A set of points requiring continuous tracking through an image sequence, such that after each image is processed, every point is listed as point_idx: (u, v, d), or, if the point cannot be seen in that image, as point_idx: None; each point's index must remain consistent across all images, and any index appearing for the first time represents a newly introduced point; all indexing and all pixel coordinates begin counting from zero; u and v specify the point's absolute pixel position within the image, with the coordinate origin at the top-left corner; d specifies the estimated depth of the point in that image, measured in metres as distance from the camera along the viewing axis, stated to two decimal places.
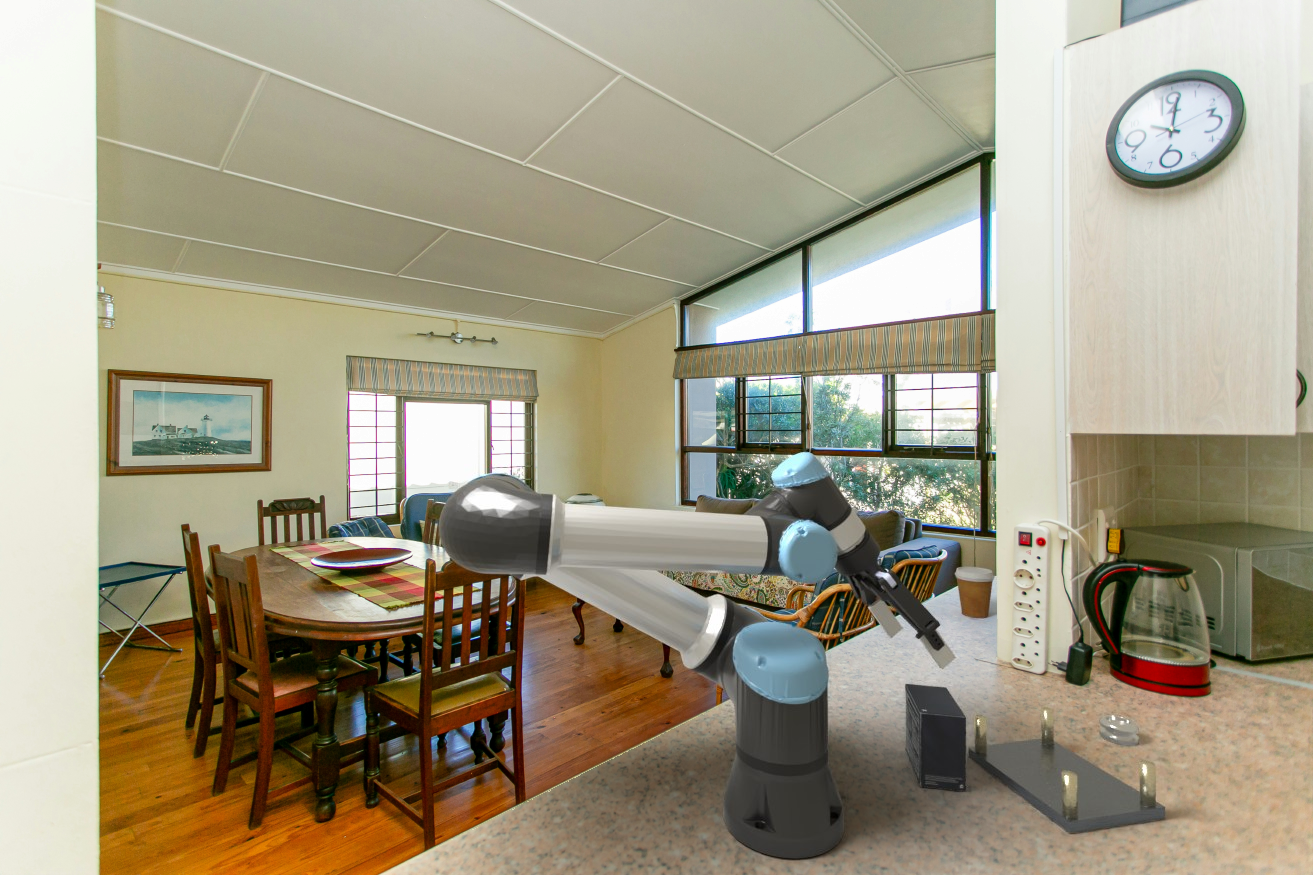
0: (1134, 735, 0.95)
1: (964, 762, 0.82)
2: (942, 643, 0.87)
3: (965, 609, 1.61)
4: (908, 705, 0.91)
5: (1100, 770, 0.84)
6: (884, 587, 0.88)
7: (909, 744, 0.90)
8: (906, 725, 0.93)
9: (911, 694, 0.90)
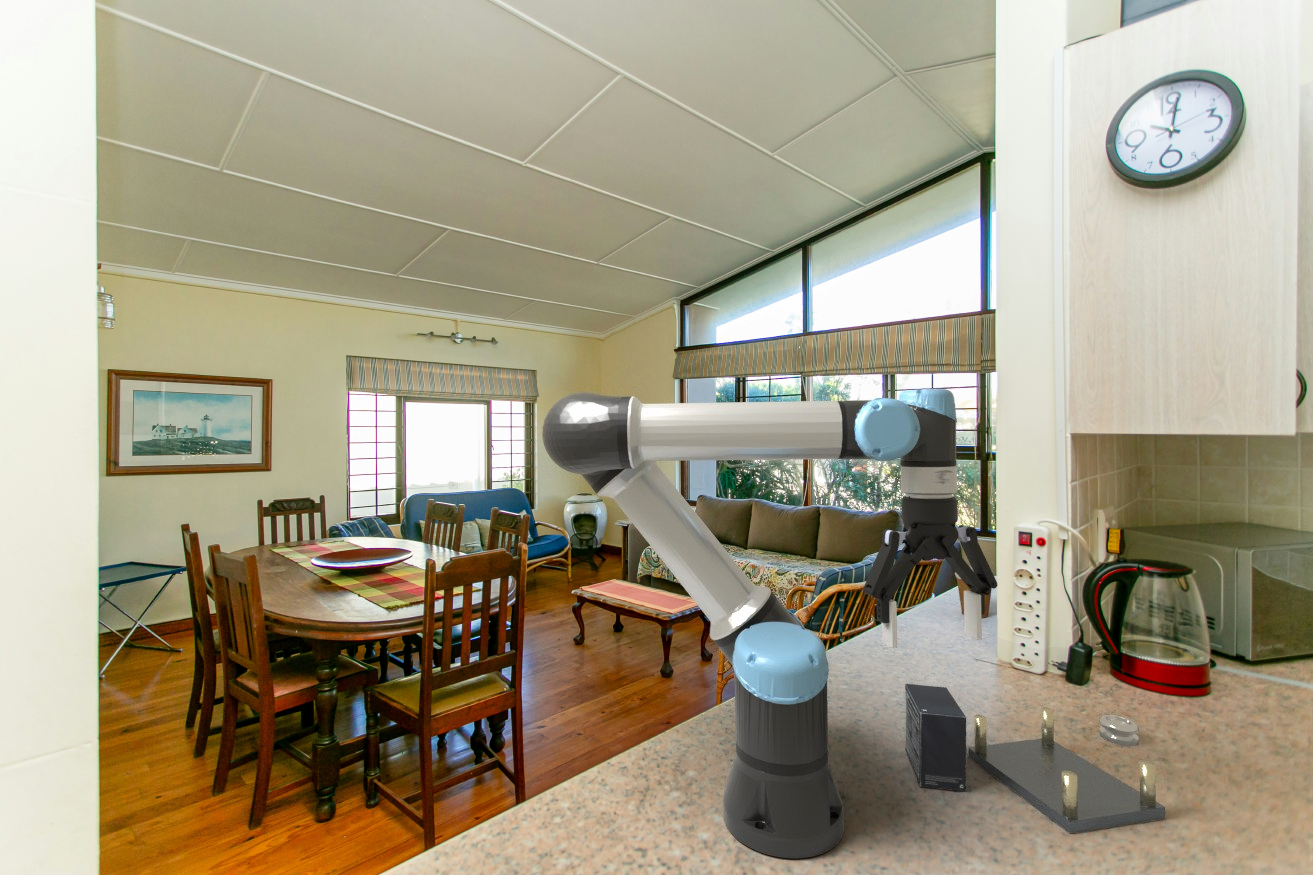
0: (1134, 735, 0.95)
1: (964, 762, 0.82)
2: (881, 619, 0.86)
3: None
4: (908, 705, 0.91)
5: (1100, 770, 0.84)
6: None
7: (909, 744, 0.90)
8: (906, 725, 0.93)
9: (911, 694, 0.90)
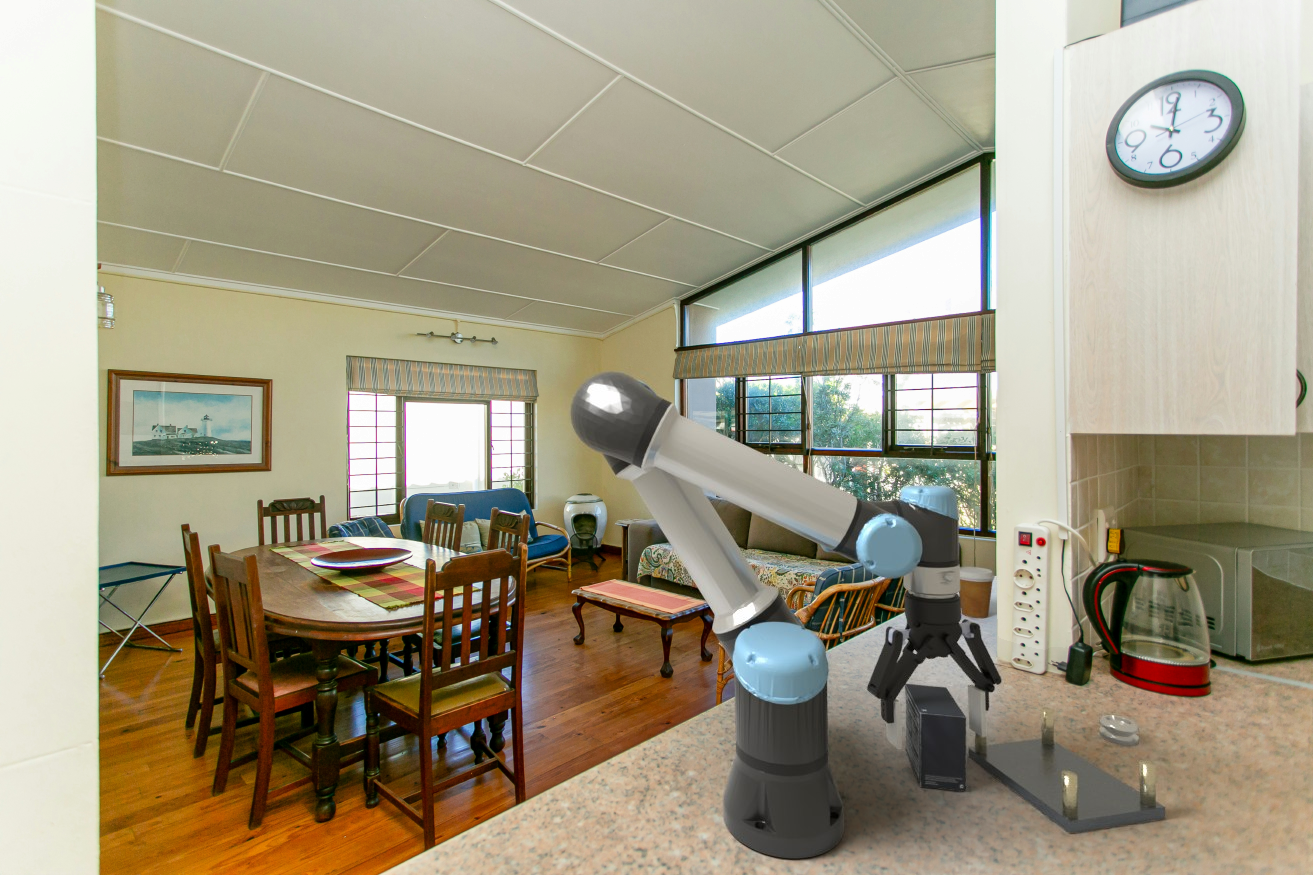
0: (1134, 735, 0.95)
1: (964, 762, 0.82)
2: (885, 718, 0.86)
3: (965, 609, 1.61)
4: (908, 705, 0.91)
5: (1100, 770, 0.84)
6: None
7: (909, 744, 0.90)
8: (906, 725, 0.93)
9: (911, 694, 0.90)
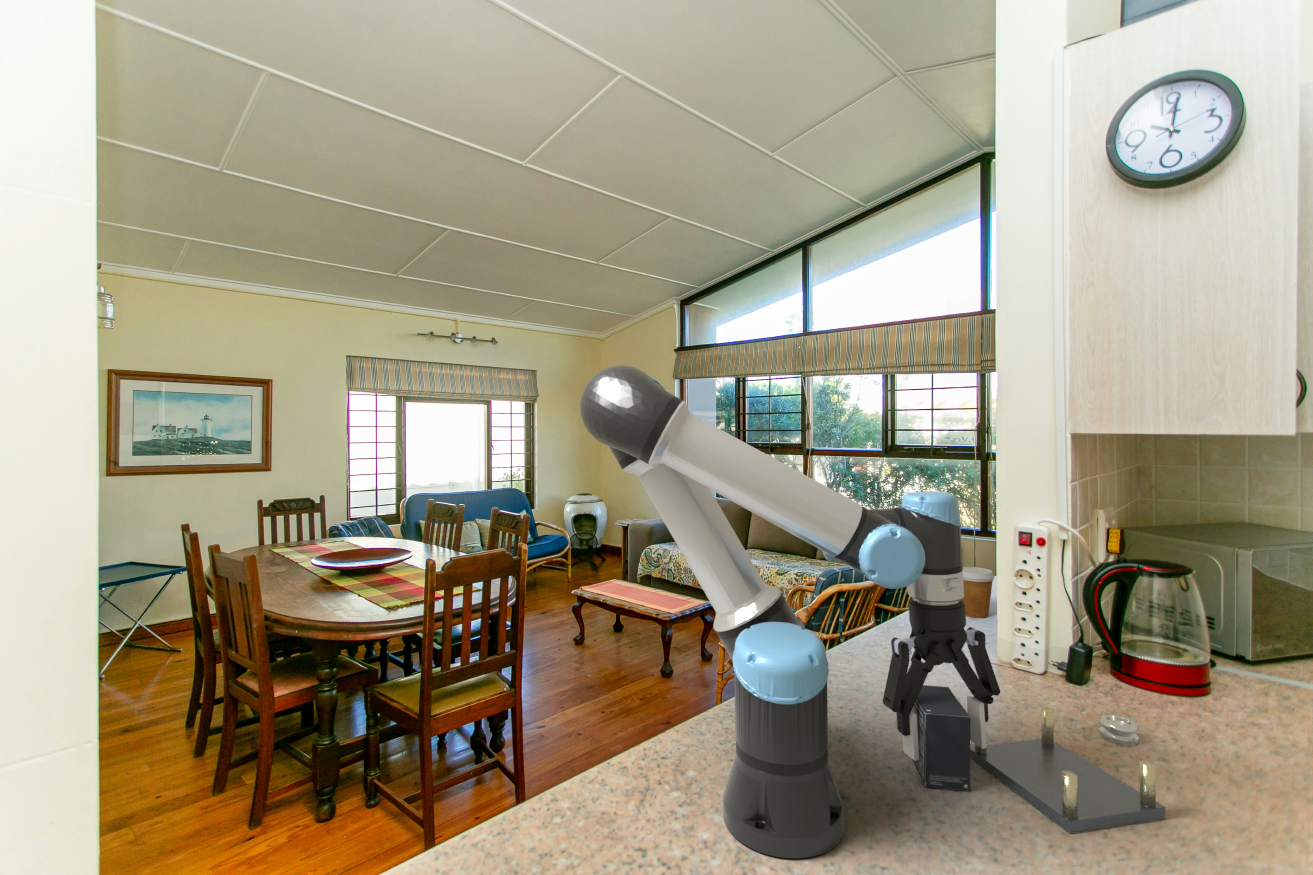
0: (1134, 735, 0.95)
1: (968, 762, 0.83)
2: (902, 731, 0.86)
3: (965, 609, 1.61)
4: None
5: (1100, 770, 0.84)
6: None
7: None
8: None
9: None
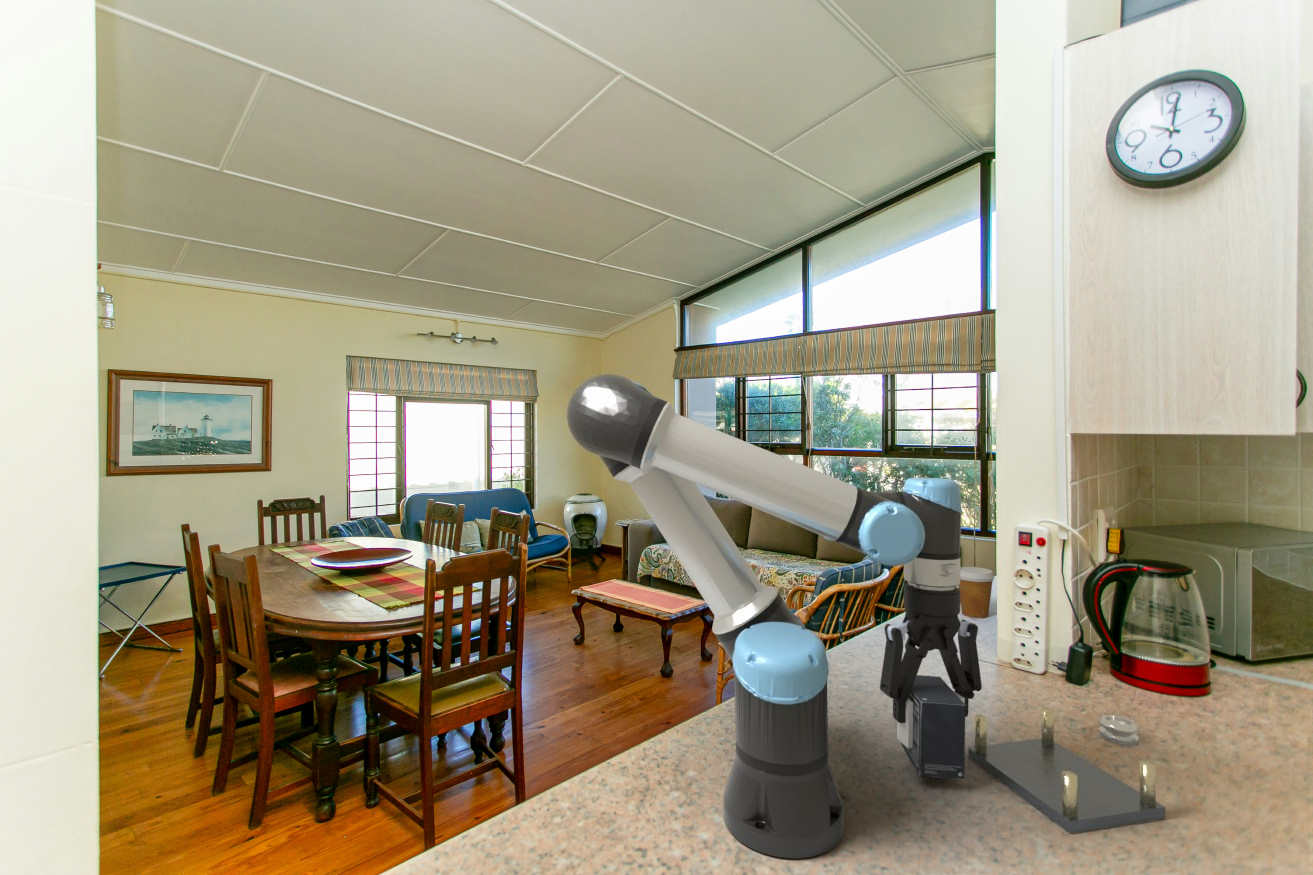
0: (1134, 735, 0.95)
1: (963, 750, 0.83)
2: (897, 718, 0.87)
3: (965, 609, 1.61)
4: None
5: (1100, 770, 0.84)
6: None
7: None
8: None
9: None
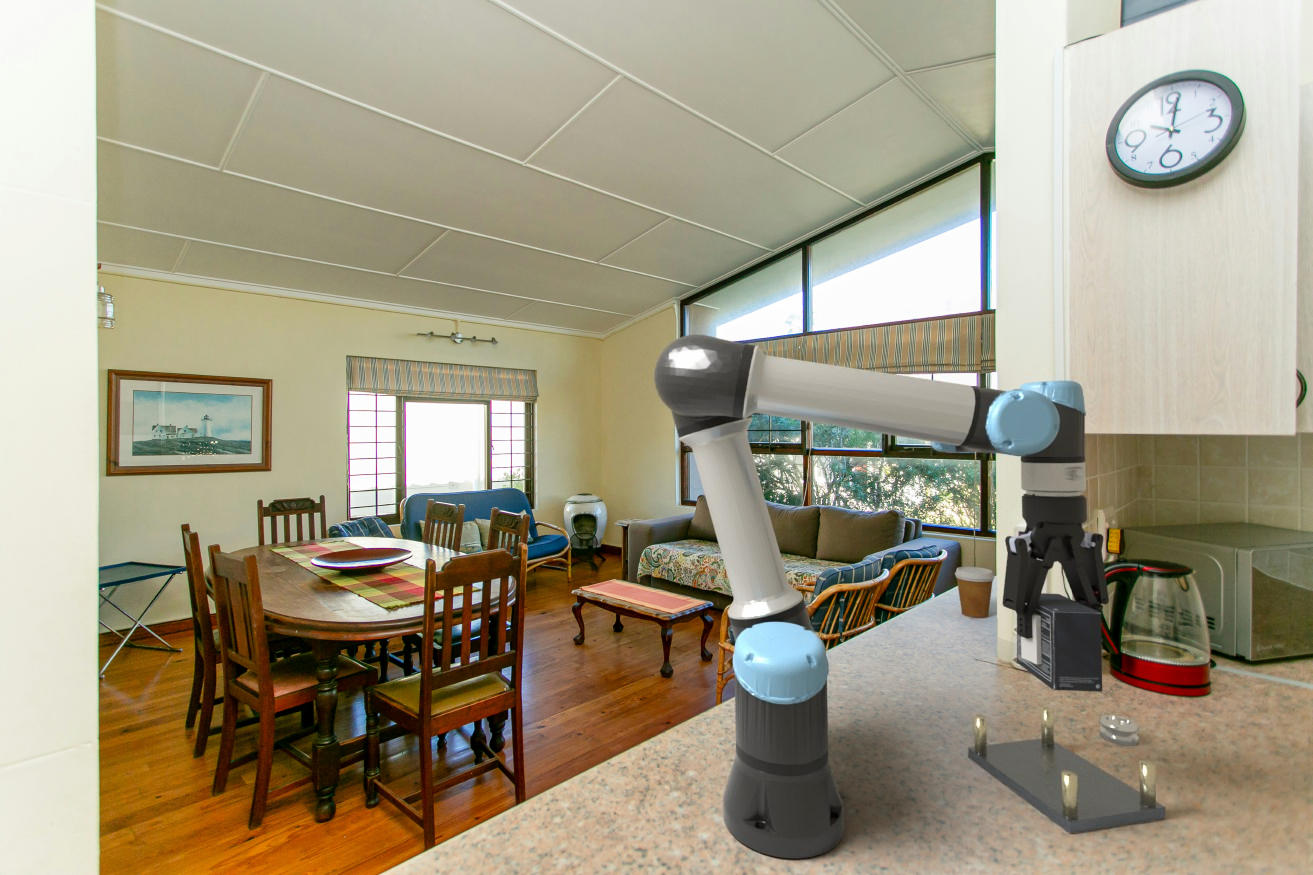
0: (1134, 735, 0.95)
1: (1100, 661, 0.78)
2: (1023, 633, 0.82)
3: (965, 609, 1.61)
4: None
5: (1100, 770, 0.84)
6: None
7: None
8: None
9: None
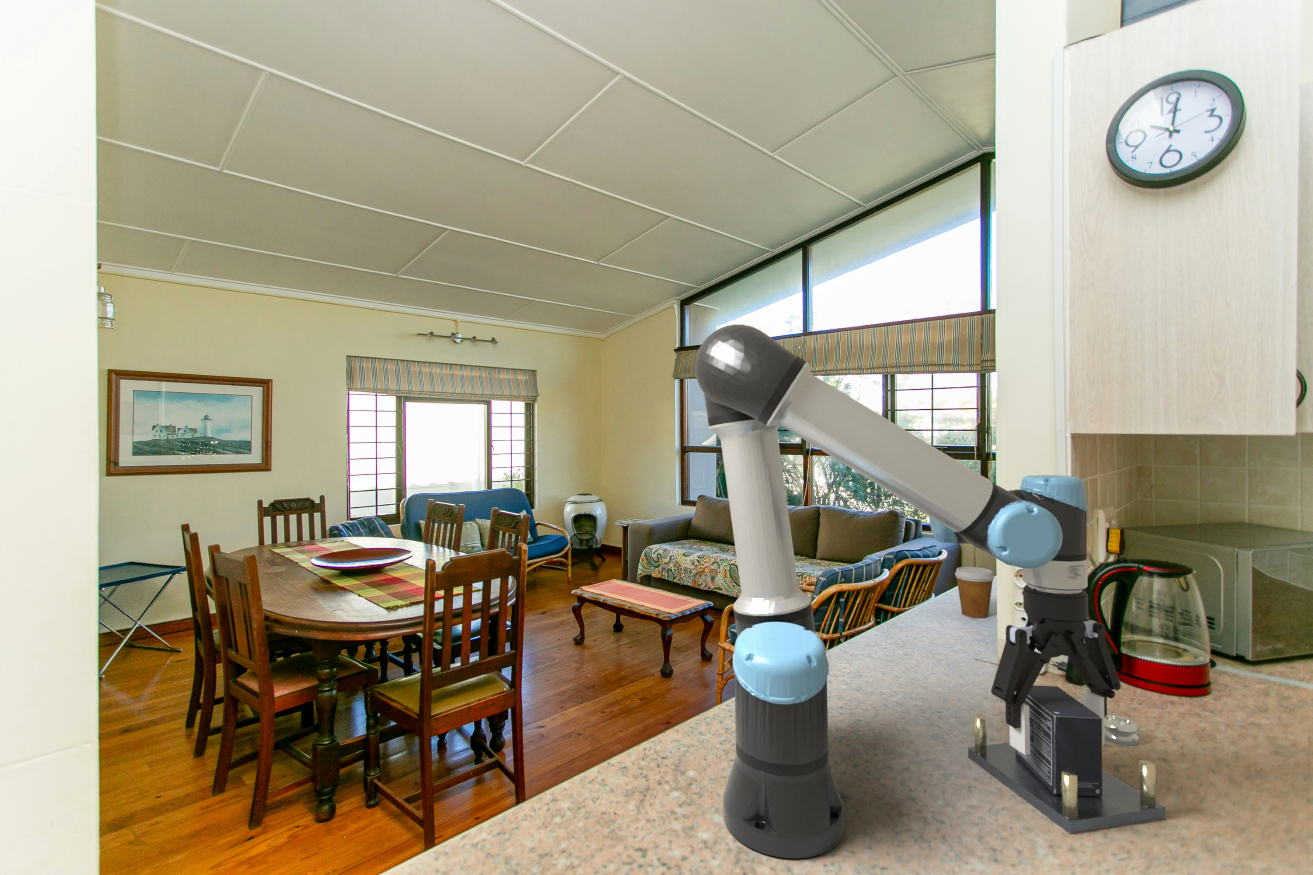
0: (1134, 735, 0.95)
1: (1100, 765, 0.78)
2: (1012, 723, 0.82)
3: (965, 609, 1.61)
4: None
5: None
6: None
7: None
8: None
9: (1030, 695, 0.85)
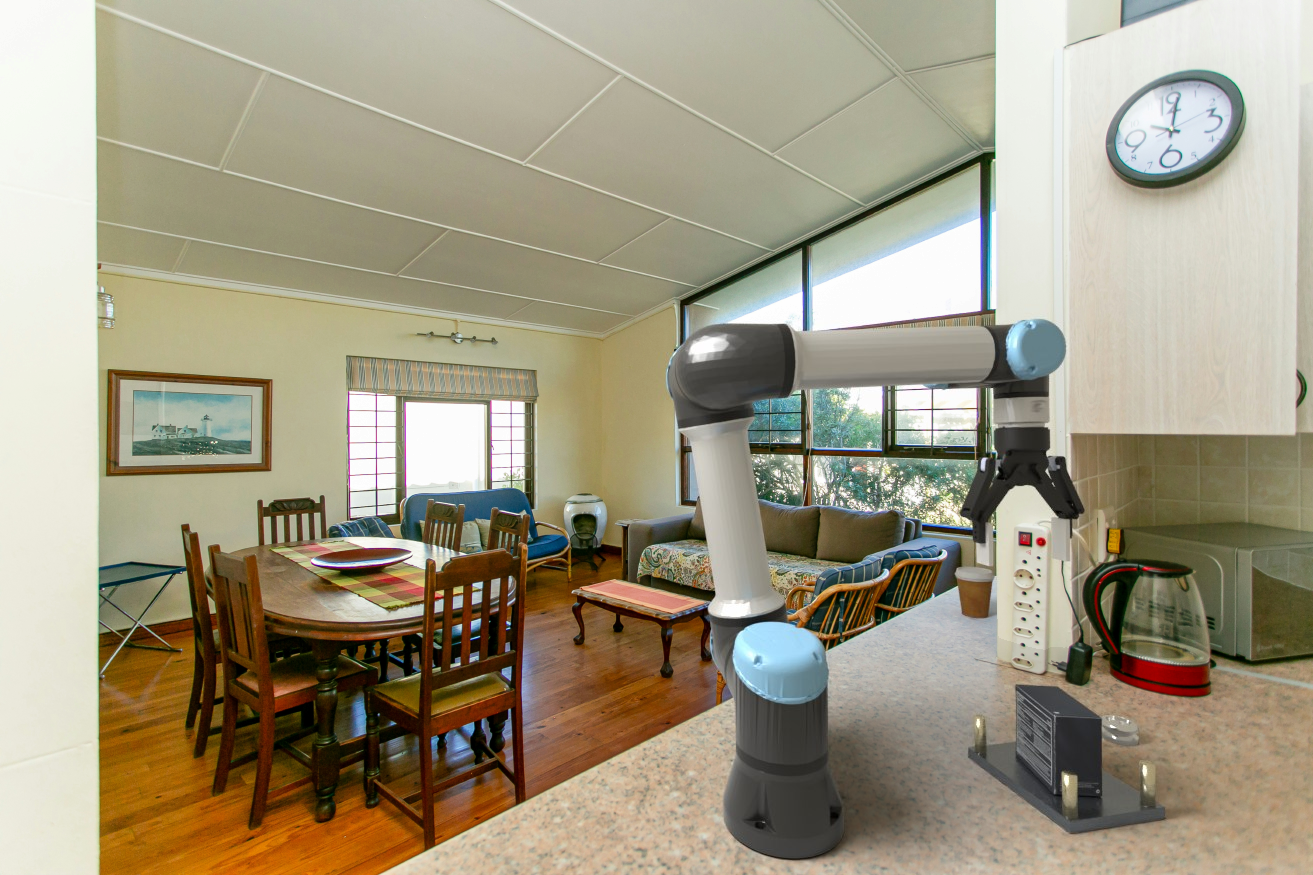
0: (1134, 735, 0.95)
1: (1100, 765, 0.78)
2: (977, 539, 0.92)
3: (965, 609, 1.61)
4: (1024, 707, 0.86)
5: None
6: None
7: (1027, 748, 0.85)
8: (1018, 728, 0.88)
9: (1030, 695, 0.85)
